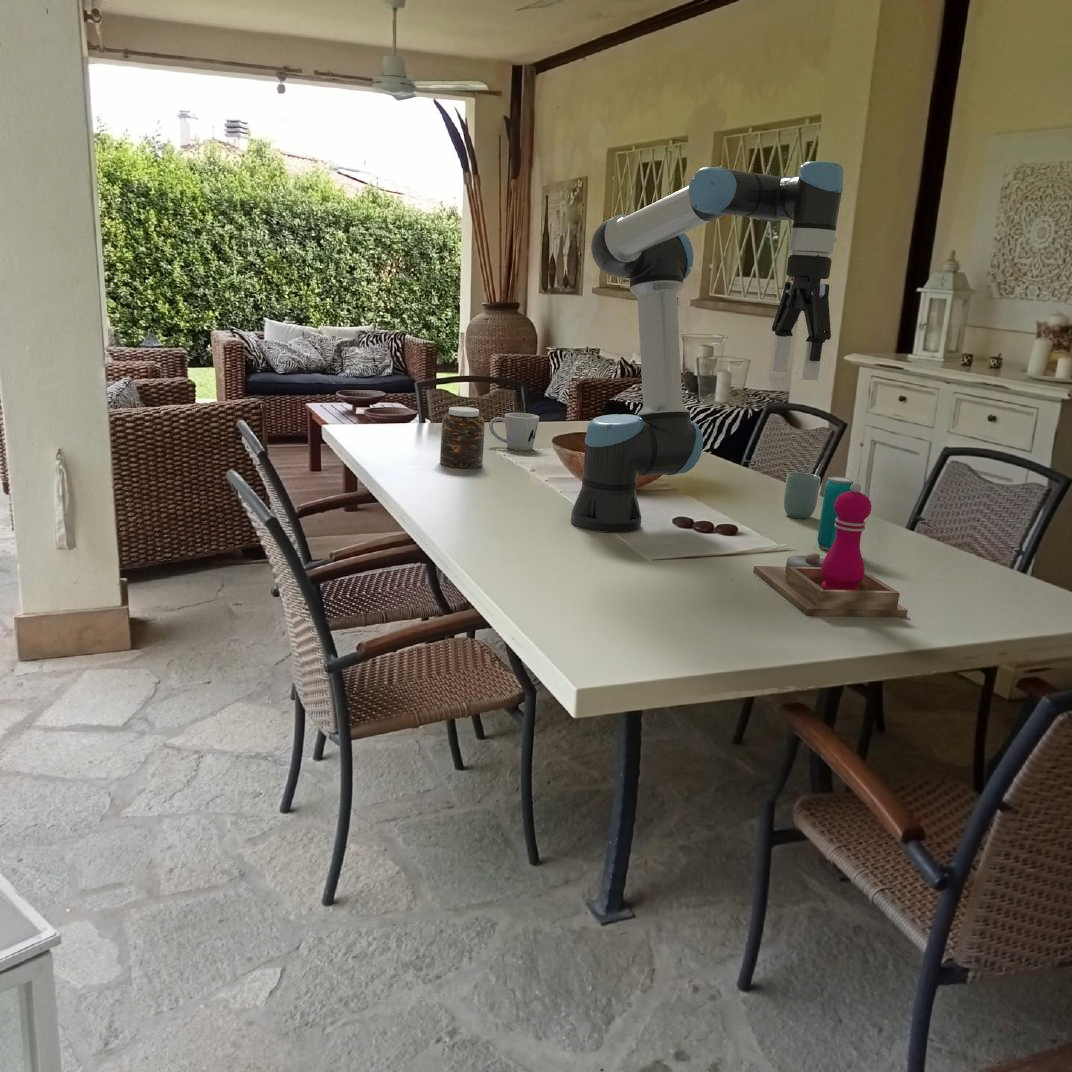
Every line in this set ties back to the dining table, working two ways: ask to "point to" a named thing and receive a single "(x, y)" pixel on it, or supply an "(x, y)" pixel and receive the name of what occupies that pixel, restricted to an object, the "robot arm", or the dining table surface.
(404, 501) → the dining table surface
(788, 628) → the dining table surface
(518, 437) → the mug
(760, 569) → the pulley board
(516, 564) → the dining table surface
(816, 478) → the cup
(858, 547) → the pepper mill
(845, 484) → the beverage can
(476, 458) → the jar
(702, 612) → the dining table surface
